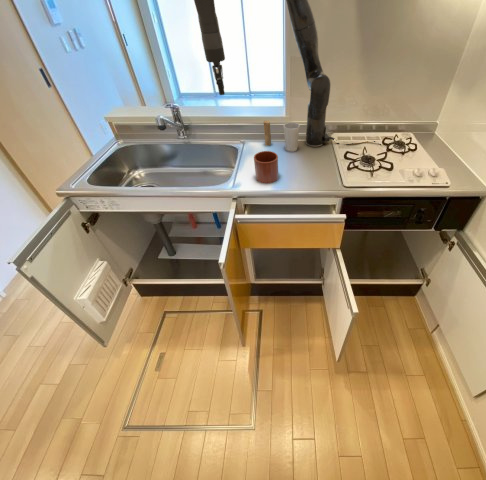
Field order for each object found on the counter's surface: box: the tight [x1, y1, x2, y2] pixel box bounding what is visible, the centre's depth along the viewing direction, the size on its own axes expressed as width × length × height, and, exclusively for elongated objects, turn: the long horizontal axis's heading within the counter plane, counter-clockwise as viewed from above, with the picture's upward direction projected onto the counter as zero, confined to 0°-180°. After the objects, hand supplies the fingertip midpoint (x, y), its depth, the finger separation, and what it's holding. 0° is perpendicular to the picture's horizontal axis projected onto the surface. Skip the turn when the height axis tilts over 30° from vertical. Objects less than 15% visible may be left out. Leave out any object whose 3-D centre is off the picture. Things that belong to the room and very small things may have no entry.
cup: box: [283, 121, 301, 153], centre depth 134 cm, size 8×8×12 cm
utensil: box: [263, 120, 272, 147], centre depth 138 cm, size 3×3×12 cm
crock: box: [253, 150, 280, 184], centre depth 117 cm, size 10×10×10 cm
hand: (222, 91), depth 116 cm, fingers open, 8 cm apart
